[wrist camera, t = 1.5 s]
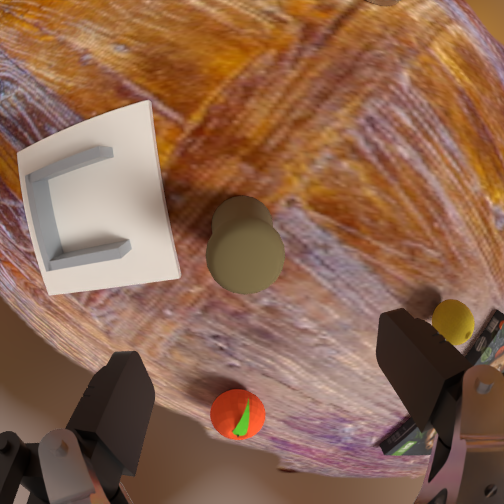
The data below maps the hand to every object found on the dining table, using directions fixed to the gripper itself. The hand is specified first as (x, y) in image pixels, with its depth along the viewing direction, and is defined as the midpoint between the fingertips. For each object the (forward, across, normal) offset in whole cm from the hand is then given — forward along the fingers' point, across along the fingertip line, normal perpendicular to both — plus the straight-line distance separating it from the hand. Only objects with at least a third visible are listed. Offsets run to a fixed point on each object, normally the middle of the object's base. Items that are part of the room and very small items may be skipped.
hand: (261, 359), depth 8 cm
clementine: (+20, +4, +22) cm, 30 cm away
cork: (+20, 0, 0) cm, 20 cm away
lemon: (+20, -25, +15) cm, 35 cm away
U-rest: (+20, +16, -5) cm, 26 cm away
